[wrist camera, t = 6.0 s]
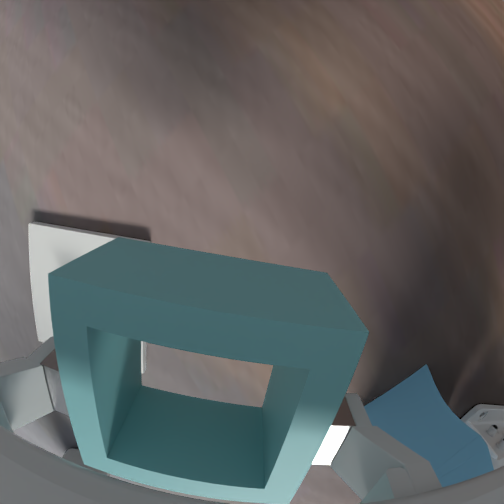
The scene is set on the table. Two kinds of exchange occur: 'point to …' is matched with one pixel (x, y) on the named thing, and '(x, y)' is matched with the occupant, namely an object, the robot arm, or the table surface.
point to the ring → (209, 343)
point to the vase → (431, 429)
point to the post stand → (54, 256)
